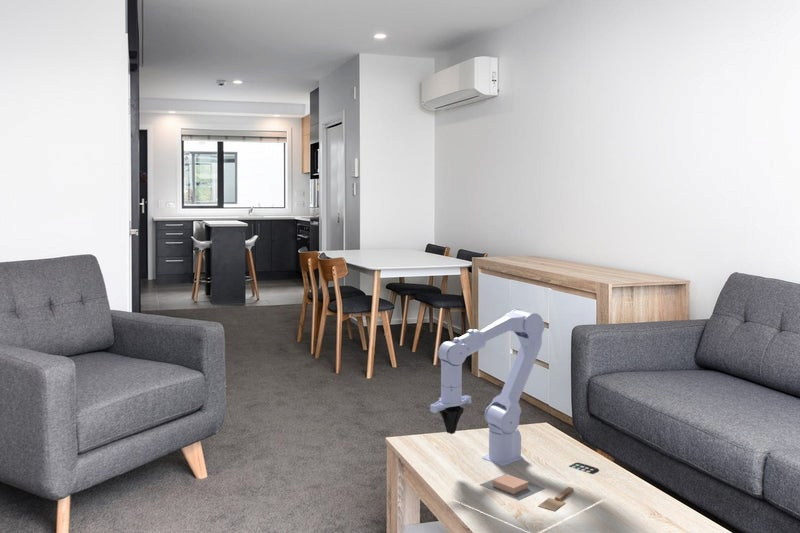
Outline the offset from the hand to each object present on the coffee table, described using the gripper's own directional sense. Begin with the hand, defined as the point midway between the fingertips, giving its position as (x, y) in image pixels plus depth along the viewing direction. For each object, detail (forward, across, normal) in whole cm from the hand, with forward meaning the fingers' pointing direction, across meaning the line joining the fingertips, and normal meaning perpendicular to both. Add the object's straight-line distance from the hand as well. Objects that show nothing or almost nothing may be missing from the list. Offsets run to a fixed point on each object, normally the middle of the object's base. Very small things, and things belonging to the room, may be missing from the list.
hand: (450, 432), depth 199 cm
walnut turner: (+10, -4, +33) cm, 35 cm away
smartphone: (+11, -23, +25) cm, 36 cm away
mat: (+10, -2, +20) cm, 23 cm away
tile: (+9, -5, +20) cm, 22 cm away
